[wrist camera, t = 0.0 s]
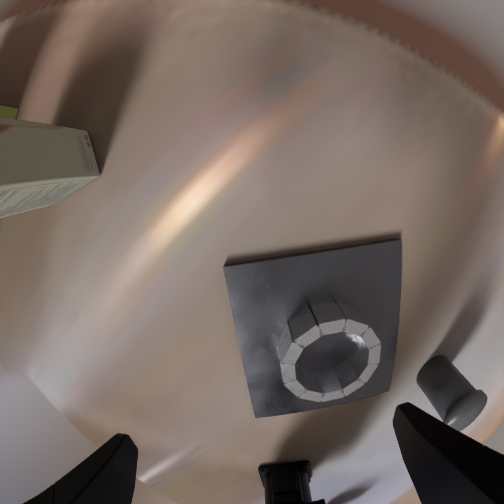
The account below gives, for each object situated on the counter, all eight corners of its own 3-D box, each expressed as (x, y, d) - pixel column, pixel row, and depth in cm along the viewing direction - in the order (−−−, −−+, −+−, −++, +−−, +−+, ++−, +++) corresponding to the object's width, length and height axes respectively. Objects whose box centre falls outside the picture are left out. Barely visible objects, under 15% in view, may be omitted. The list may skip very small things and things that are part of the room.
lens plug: (444, 380, 25) (477, 421, 17) (410, 394, 25) (439, 441, 18) (454, 346, 24) (493, 386, 16) (417, 360, 24) (455, 407, 16)
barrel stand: (387, 387, 25) (399, 409, 21) (255, 413, 25) (255, 440, 22) (397, 238, 21) (420, 248, 17) (224, 264, 21) (219, 281, 18)
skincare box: (88, 129, 18) (-25, 107, 7) (102, 176, 19) (-16, 186, 8) (37, 164, 19) (-69, 172, 7) (49, 208, 20) (-58, 238, 8)
